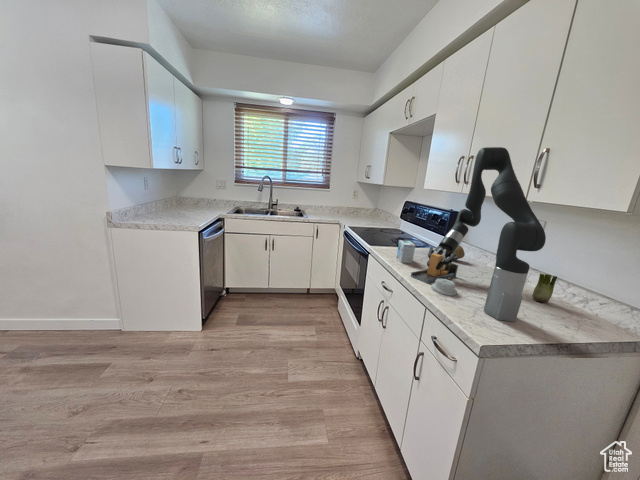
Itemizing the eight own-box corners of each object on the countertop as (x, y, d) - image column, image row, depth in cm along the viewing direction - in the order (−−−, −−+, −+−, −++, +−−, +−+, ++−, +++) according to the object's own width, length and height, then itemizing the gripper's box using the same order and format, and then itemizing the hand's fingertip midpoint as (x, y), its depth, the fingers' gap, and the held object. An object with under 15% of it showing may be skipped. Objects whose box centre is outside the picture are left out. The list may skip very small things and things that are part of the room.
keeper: (438, 270, 136) (440, 259, 134) (455, 276, 128) (458, 265, 126) (430, 271, 132) (433, 260, 131) (448, 278, 124) (451, 266, 123)
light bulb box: (395, 257, 153) (398, 239, 151) (407, 258, 153) (410, 240, 151) (400, 262, 143) (403, 244, 140) (412, 264, 143) (416, 245, 140)
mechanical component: (425, 286, 112) (442, 296, 103) (427, 277, 111) (444, 286, 102) (444, 285, 115) (461, 295, 106) (446, 276, 114) (464, 285, 105)
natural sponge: (465, 261, 157) (468, 245, 155) (459, 263, 151) (462, 247, 149) (450, 257, 164) (453, 242, 161) (443, 259, 158) (447, 243, 156)
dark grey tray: (438, 270, 135) (439, 266, 135) (454, 276, 128) (455, 272, 128) (410, 276, 123) (411, 272, 122) (427, 283, 115) (428, 279, 115)
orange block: (435, 270, 131) (439, 251, 129) (447, 274, 126) (451, 255, 124) (424, 272, 126) (428, 253, 124) (436, 277, 121) (440, 257, 119)
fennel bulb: (549, 302, 107) (558, 275, 104) (548, 305, 103) (557, 277, 100) (531, 297, 110) (539, 270, 108) (530, 300, 107) (538, 273, 104)
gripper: (436, 233, 130) (417, 258, 126) (464, 239, 119) (444, 267, 115) (440, 242, 134) (421, 267, 131) (467, 249, 123) (448, 277, 119)
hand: (432, 267), depth 123 cm, fingers closed on orange block, 4 cm apart
